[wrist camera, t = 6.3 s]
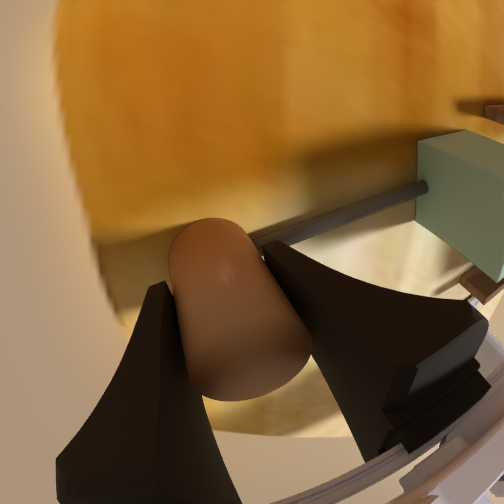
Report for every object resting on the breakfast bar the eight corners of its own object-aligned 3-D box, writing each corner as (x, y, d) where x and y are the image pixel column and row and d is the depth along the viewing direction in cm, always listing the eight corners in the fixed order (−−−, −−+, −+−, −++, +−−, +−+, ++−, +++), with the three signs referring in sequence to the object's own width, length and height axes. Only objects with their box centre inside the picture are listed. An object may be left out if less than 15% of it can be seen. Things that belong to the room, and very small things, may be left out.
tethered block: (462, 199, 15) (535, 247, 11) (190, 311, 13) (222, 432, 8) (467, 130, 13) (554, 169, 8) (149, 224, 11) (159, 353, 6)
